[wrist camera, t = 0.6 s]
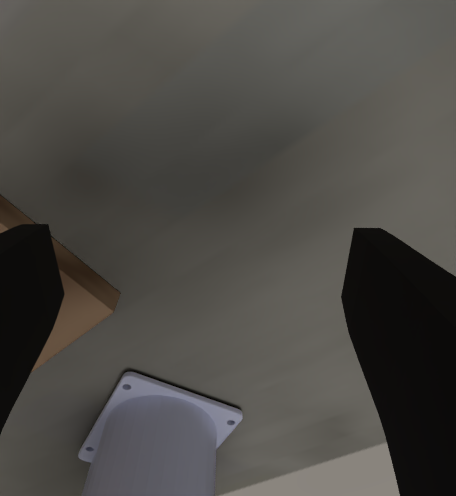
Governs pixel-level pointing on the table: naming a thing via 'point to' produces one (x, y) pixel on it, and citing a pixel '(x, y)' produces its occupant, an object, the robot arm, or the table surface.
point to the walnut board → (69, 292)
